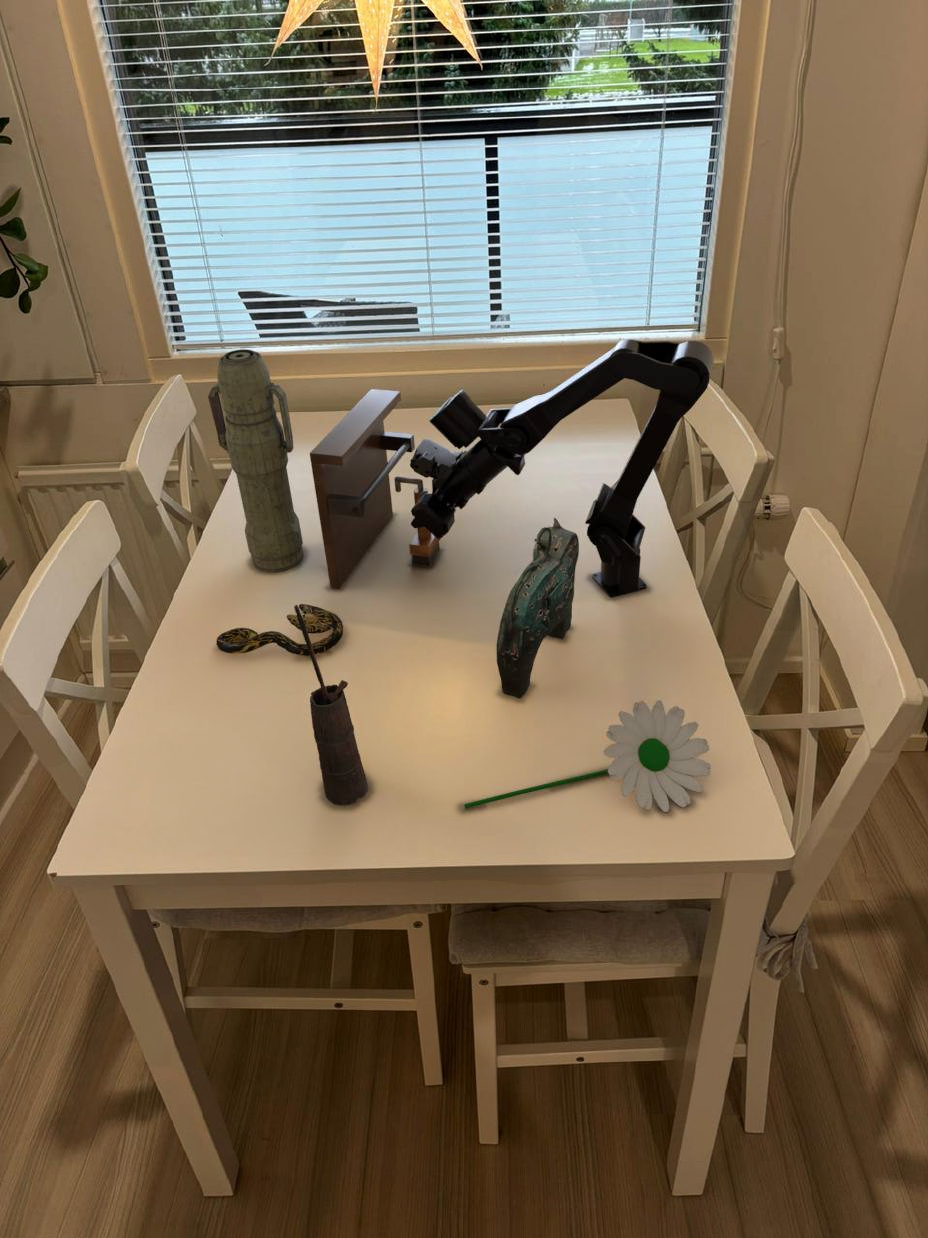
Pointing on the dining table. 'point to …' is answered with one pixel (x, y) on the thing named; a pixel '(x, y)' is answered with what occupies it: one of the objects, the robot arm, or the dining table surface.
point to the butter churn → (335, 737)
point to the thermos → (258, 457)
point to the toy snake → (314, 621)
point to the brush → (420, 530)
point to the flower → (647, 758)
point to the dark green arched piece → (537, 607)
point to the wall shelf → (356, 481)
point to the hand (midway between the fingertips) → (415, 521)
